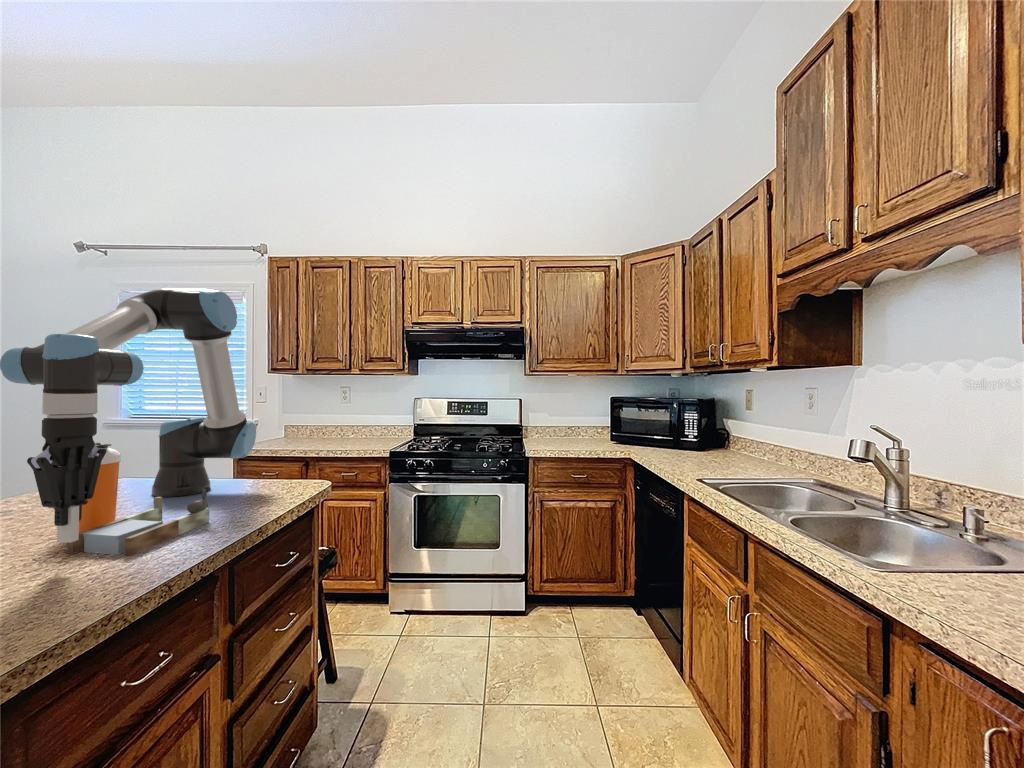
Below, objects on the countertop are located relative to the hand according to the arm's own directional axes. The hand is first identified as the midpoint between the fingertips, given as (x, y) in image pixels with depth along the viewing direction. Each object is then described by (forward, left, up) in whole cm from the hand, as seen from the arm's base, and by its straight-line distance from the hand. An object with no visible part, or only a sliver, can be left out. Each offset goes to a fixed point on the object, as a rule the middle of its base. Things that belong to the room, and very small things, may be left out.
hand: (67, 540), depth 86 cm
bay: (-17, 0, -5) cm, 18 cm away
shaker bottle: (-22, -17, -5) cm, 28 cm away
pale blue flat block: (-12, 0, -5) cm, 13 cm away
